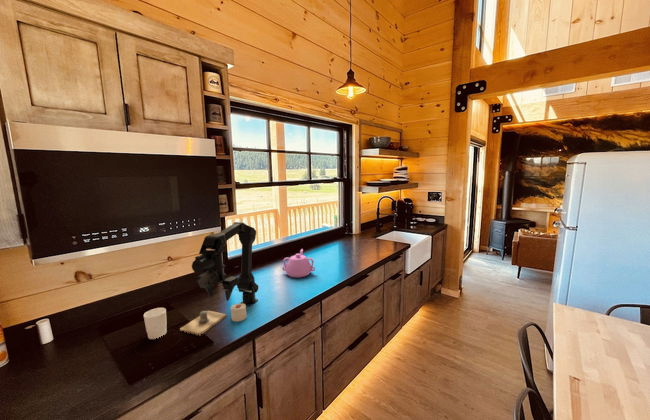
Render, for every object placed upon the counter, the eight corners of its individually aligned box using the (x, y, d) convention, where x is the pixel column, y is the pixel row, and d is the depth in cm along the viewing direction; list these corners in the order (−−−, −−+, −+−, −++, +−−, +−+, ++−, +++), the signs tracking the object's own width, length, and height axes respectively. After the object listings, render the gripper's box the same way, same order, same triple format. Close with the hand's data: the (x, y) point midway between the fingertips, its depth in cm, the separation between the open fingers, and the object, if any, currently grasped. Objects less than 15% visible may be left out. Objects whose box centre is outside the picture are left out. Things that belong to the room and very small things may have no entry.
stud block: (208, 312, 129) (207, 302, 128) (226, 316, 125) (225, 305, 124) (180, 330, 114) (178, 319, 113) (199, 335, 110) (198, 324, 109)
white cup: (164, 326, 117) (161, 305, 116) (171, 333, 112) (168, 311, 111) (143, 335, 111) (140, 313, 110) (150, 342, 106) (147, 319, 105)
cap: (237, 312, 128) (237, 301, 127) (249, 315, 125) (248, 303, 124) (228, 320, 121) (227, 308, 121) (240, 322, 119) (239, 310, 118)
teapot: (317, 267, 187) (317, 248, 185) (313, 279, 165) (312, 258, 163) (287, 266, 189) (286, 248, 187) (279, 279, 168) (278, 258, 166)
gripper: (183, 269, 108) (188, 304, 111) (219, 274, 101) (223, 312, 104) (204, 259, 118) (208, 292, 121) (238, 264, 112) (241, 298, 114)
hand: (219, 298), depth 115 cm, fingers open, 9 cm apart
